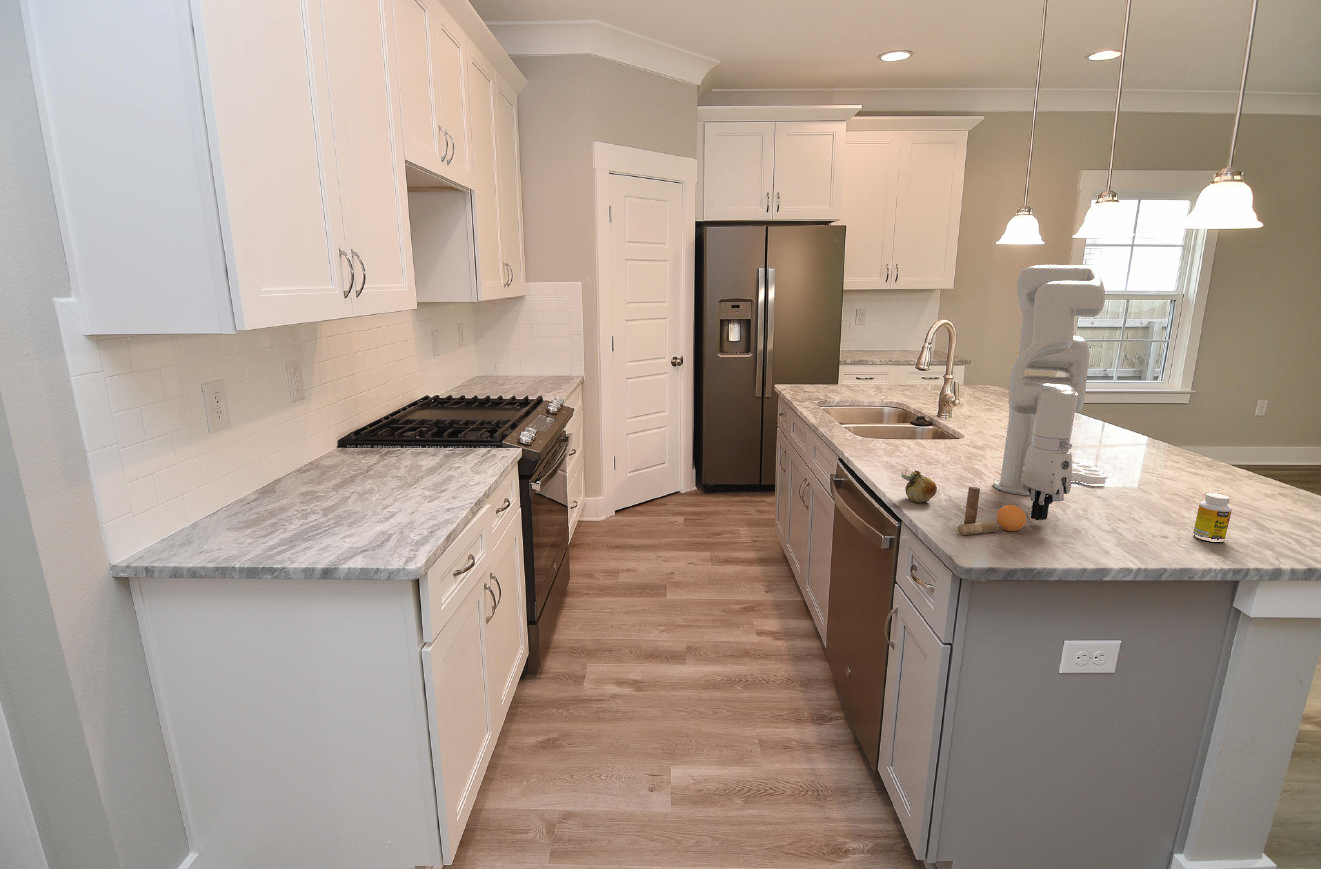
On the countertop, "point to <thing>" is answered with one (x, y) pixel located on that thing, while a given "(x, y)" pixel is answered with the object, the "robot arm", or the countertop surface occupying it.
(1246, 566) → the countertop surface
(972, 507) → the walnut pin
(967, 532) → the maple pin
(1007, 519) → the ball
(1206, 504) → the supplement bottle
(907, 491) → the onion
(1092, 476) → the white egg tray
